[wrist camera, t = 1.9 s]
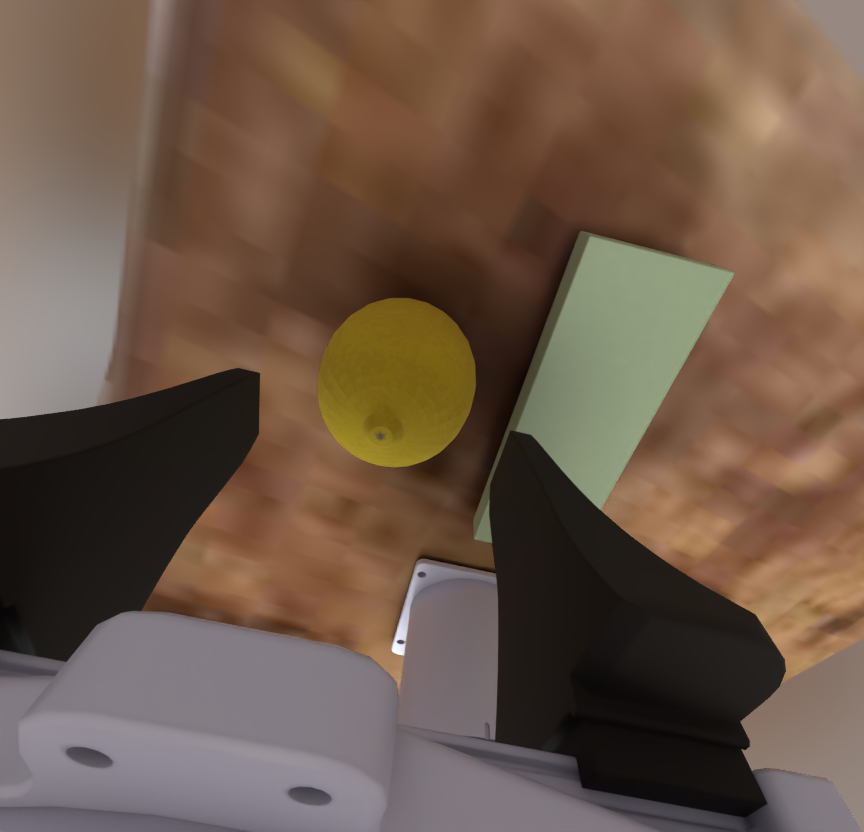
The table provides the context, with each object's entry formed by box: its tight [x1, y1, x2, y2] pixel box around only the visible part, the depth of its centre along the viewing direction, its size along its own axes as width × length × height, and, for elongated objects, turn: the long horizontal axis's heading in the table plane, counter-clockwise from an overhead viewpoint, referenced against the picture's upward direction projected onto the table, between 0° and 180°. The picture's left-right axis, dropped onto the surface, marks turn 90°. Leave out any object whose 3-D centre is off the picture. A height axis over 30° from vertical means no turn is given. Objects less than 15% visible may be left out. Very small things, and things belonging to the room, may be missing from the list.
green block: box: [473, 231, 734, 543], centre depth 18 cm, size 14×5×3 cm, turn 167°
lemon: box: [317, 298, 476, 467], centre depth 15 cm, size 6×6×8 cm
